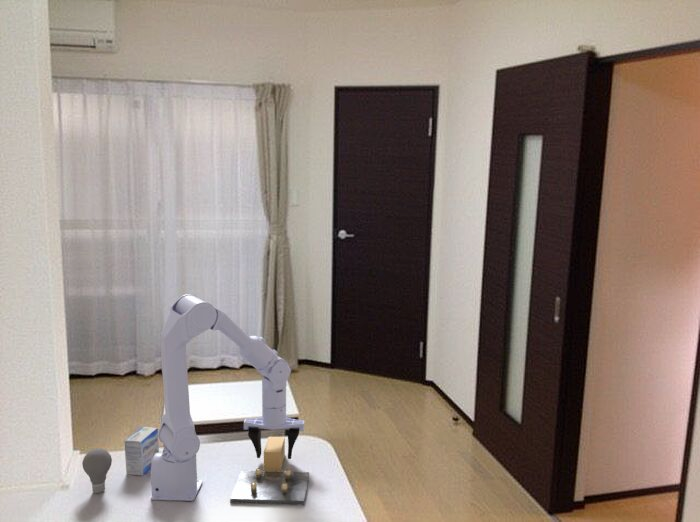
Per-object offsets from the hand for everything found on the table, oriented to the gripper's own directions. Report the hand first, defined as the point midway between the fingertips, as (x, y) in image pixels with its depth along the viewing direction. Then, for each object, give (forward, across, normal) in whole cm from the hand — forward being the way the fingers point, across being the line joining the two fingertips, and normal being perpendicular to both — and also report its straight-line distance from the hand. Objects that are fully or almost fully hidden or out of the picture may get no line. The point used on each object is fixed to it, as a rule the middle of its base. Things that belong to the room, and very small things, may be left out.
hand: (274, 456), depth 152 cm
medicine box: (+2, +31, +4) cm, 31 cm away
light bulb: (+2, +37, +15) cm, 40 cm away
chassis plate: (+2, -1, +12) cm, 12 cm away
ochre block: (+2, 0, 0) cm, 2 cm away
